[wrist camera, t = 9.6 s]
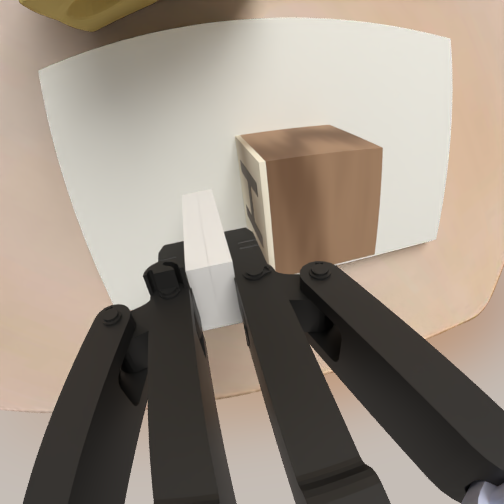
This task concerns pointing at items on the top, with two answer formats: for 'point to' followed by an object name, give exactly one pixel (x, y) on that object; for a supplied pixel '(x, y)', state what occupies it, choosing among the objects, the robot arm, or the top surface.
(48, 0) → the cheese
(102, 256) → the cutting board
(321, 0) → the top surface
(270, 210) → the walnut block
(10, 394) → the top surface
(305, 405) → the robot arm
